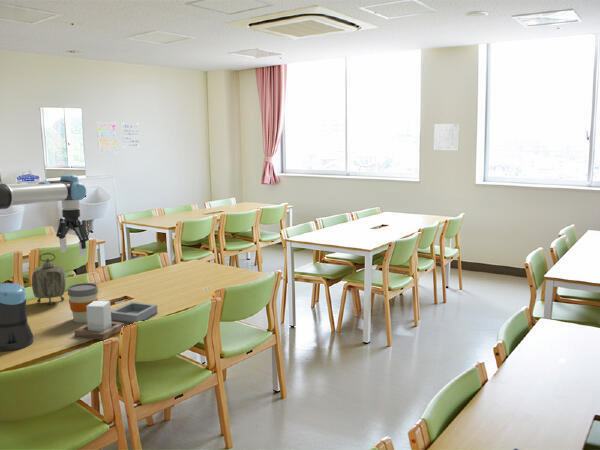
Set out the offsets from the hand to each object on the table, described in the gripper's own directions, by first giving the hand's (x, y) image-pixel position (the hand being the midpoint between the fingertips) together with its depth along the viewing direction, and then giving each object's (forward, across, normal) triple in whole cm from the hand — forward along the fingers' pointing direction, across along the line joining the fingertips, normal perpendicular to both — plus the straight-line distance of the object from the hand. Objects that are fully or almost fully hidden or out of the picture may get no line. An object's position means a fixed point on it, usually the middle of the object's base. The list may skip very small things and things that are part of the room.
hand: (73, 253), depth 252 cm
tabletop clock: (+27, +17, +2) cm, 32 cm away
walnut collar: (+27, -35, +15) cm, 46 cm away
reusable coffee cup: (+27, -16, +8) cm, 32 cm away
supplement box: (+27, -35, +15) cm, 47 cm away
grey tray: (+26, -33, -6) cm, 42 cm away
